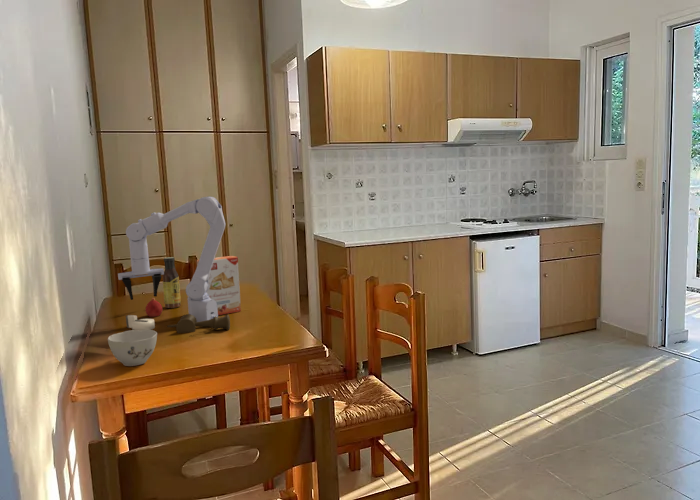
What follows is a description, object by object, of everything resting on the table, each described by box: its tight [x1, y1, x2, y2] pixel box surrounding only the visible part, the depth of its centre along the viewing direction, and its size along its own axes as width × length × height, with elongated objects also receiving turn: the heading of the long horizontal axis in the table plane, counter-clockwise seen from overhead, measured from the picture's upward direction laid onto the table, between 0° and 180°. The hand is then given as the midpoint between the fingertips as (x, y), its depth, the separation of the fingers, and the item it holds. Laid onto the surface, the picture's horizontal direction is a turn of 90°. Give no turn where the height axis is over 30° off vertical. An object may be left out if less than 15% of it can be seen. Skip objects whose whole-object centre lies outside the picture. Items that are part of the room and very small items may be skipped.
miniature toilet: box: [125, 314, 156, 331], centre depth 182 cm, size 10×7×4 cm
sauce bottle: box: [162, 256, 182, 309], centre depth 218 cm, size 6×6×20 cm
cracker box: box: [196, 255, 242, 316], centre depth 203 cm, size 14×6×21 cm, turn 126°
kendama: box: [166, 313, 231, 337], centre depth 179 cm, size 6×10×20 cm
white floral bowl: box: [107, 329, 158, 367], centre depth 151 cm, size 15×12×8 cm
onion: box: [145, 297, 163, 318], centre depth 199 cm, size 6×6×8 cm
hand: (143, 297), depth 188 cm, fingers open, 7 cm apart
